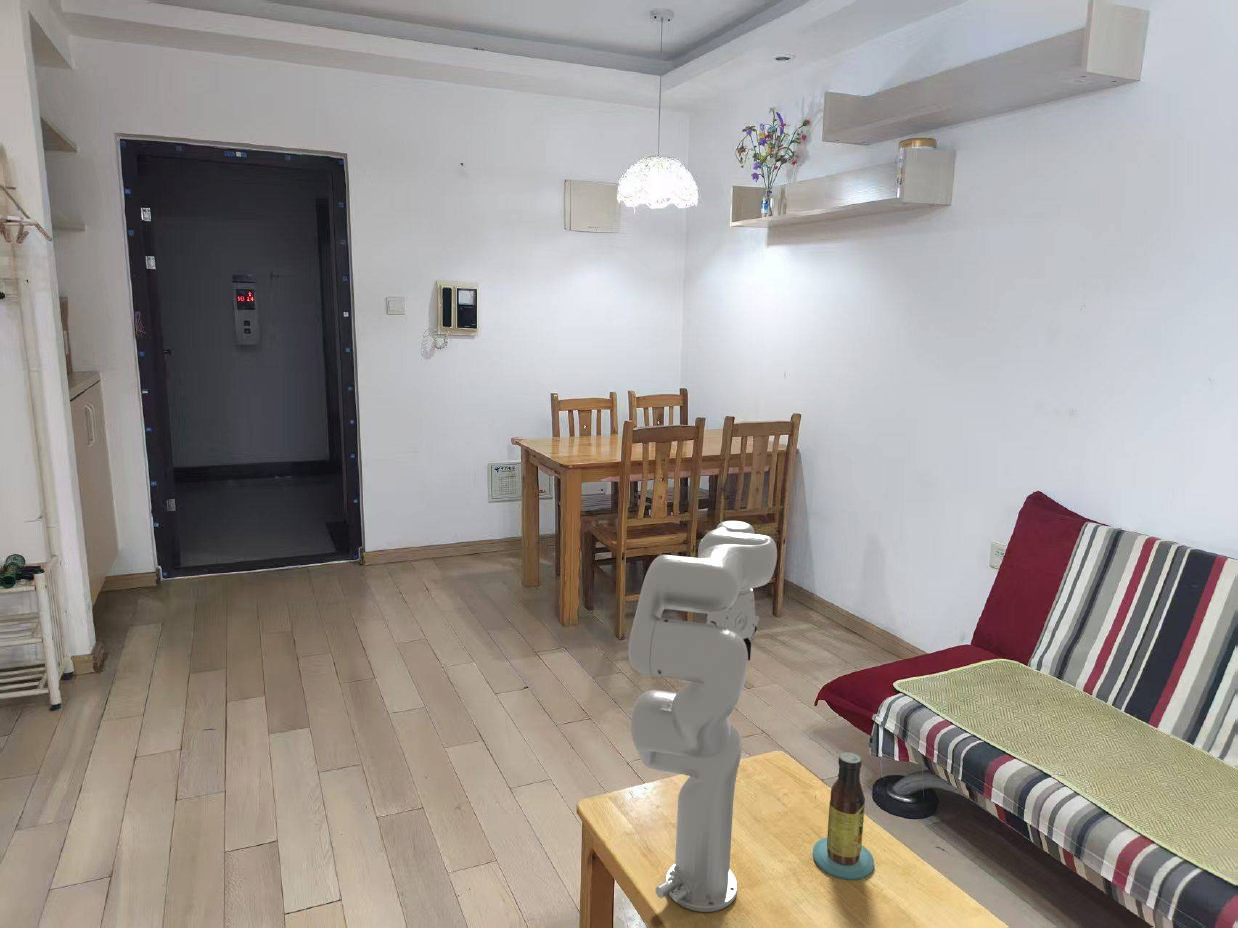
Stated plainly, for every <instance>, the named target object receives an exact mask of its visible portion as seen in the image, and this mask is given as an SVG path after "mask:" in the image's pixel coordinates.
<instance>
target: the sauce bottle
mask: <svg viewBox="0 0 1238 928" xmlns="http://www.w3.org/2000/svg"><path fill="white" fill-rule="evenodd" d="M862 764H863V763H862V758H861V756H860V755H859V754H856V753H854V752H850V751H849V752H848V751H845V752H842V753H840V754H839V755H838V767H839V768H838V774H837V779H836V780H835V781H834V783H833V785H832V787H831V789H830V800H829V805H828V821H827V837H826V838H827V853H828V856H829V857H830V858H831V859H832V860H833V861H835V862H837V863H840V864H844V865H853V864H855V863H857V862H858V860H859V857H860V853H861V847H862V844H863V843H862V842H863V834H864V833H863V832H864V831H863V830H864V823H865V822H864V820H865V808H866V807H865V806H866V805H865V804H866V798H865V795H864V790H863V787H862V785H861V779H860V778H861V775H860V774H861V768H862Z"/></svg>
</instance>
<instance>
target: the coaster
mask: <svg viewBox="0 0 1238 928" xmlns="http://www.w3.org/2000/svg"><path fill="white" fill-rule="evenodd" d="M812 858H813V860H814V863H815V864H816V865H817V867H819V869H821V870H822V871H823V872H825V873H826V874H828V875H830V876H833V877H835V878H837V879H841V880H846V881H847V880H848V881H855V880H856V881H857V880H862V879H865V878H867V877H868V876H870V875H871V873H872V872H873V870H874V867H875V866H874V865H875V860H874V857H873V855H872V853H871V852H870V850H869V849H868V848H866V847H865V846H864V845H862V847H861V853H860V857H859V860H858V862H857V863H855V864H853V865H844V864H840V863H837V862H835V861H833V860H832V859H831V858H830V857H829V856H828V853H827V837H824V838H822V839H819V840H818V841H816V843H815V844H814V846H813V848H812Z"/></svg>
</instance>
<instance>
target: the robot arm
mask: <svg viewBox="0 0 1238 928" xmlns="http://www.w3.org/2000/svg"><path fill="white" fill-rule="evenodd" d="M777 561H778V548H777V543H775V540H774V539H773V538H772V537H771V536H769V535H765V534H759V533H757V534H756V533H755V529H754V527H753V526H752V525H751V524H750V523H747V522H745V521H739V520H725V521H722V522H720V523H718V524H717V526H716V528H715V529H713V530H709V532H707V533H706V534H705V535H704V536H703V538H701V539H700V542H699V543H698V551H697V557H691V556H682V555H681V556H680V555H674V554H673V555H670V554H660V555H658V556H657V557H655V559H653V561H652V562H651V563H650V565H649V567H648V569H647V571H646V574H645V576H644V580H643V583H642V586H641V590H640V594H639V599H638V602H637V606H636V611H635V615H634V618H633V623H632V625H631V630H630V634H629V635H630V636H629V639H628V640H629V641H628V645H627V646H628V650H627V651H628V652H627V654H628V660H629V663H630V665H631V667H632V668H633V669H634V670H635V671H637V673H640V674H642V675H646V676H650V677H652V676H653V677H660V678H666V679H674V680H680V681H688V682H687V683H685V684H684V685H683V686H682V687H681V688H680V689H678V691H677V692H675V691H673V692H672V691H666V690H660V689H658V690H657V689H656V690H655V689H650V690H646V691H644V692H642V693H641V694H640V695H639V696H638V698H637V699H636V702H635V703H634V706H633V709H632V713H631V720H630V721H631V722H630V723H631V724H630V726H631V727H630V732H631V738H632V742H633V746H634V747H635V750H636V752H637V754H638V756H639V759H640V761H641V763H642V764H643V765H644V766H645V767H647V768H649V769H651V770H656V771H660V772H666V773H671V774H679V775H685V776H687V777H688V778H687V779H686V781H684V783H683V785H682V786H681V788H680V791H679V793H678V797H677V816H676V817H677V818H676V836H675V837H676V839H675V859H674V861H675V862H674V864H672V866H671V867H669V869H668V871H667V872H666V876H665V882H663V883H661V884H659V885H657V886H656V887H655V893H656V895H657V897H658V898H659V899H663V898H665V897H666V896H668V895H669V897H670V898H671V899H672V900H673V901H674V902H675V903H676V904H678V905H680V906H682V907H683V908H685V909H688V910H691V911H694V912H700V913H709V912H718V911H721V910H722V909H725V908H726V907H728V906H730V905H731V904H732V903H733V901H735V898H736V897H737V893H738V882H737V879H736V876H735V875H734V873H733V872H732V871H731V869H730V863H731V851H732V850H731V848H732V847H731V846H732V845H731V844H732V832H733V830H732V828H733V815H734V814H733V813H734V812H733V811H734V798H735V788H736V787H735V786H736V782H737V776H738V771H739V767H740V762H741V759H742V758H741V757H742V749H743V741H742V736H741V734H740V732H739V730H737V728H735V727H734V726H733V725H732V724H731V718H730V715H731V714H732V712H733V711H734V709H735V708H736V706H737V704H738V703H739V700H740V698H741V696H742V693H743V690H744V686H745V684H746V683H745V682H746V678H747V671H748V665H749V664H748V663H749V661H750V660H751V652H752V642H753V641H754V635H755V633H756V632H757V629H758V628H757V627H758V623H759V621H760V616H759V615H757V614H756V603H755V601H756V600H755V593H754V590H753V589H755V588H759V587H763V586H765V585H767V584H768V583H769V582H770V581H771V579H772V577H773V575H774V571H775V569H776V566H777ZM665 610H673V611H682V612H687V613H689V612H690V613H697V614H705V615H706V614H707V617H706V623H705V622H704V623H703V622H697V621H696V622H695V621H690V620H678V619H673V618H672V619H671V618H663V617H662V615H663V612H664V611H665Z"/></svg>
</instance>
